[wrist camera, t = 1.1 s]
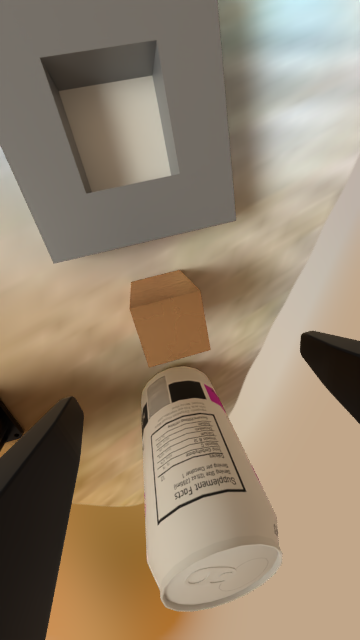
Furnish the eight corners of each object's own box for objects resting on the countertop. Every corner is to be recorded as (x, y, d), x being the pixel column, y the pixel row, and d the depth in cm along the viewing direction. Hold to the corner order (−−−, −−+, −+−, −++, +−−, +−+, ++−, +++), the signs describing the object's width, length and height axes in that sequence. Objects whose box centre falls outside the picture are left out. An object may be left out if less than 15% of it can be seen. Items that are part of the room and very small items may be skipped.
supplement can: (222, 375, 26) (320, 539, 12) (188, 424, 28) (239, 611, 14) (162, 352, 23) (201, 533, 10) (129, 409, 25) (123, 623, 12)
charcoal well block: (219, 221, 19) (236, 220, 16) (67, 256, 18) (53, 263, 15) (192, -7, 13) (210, -78, 10) (-30, 23, 12) (-86, -47, 9)
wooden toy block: (188, 313, 22) (210, 349, 16) (144, 325, 22) (149, 367, 15) (179, 269, 20) (200, 290, 14) (131, 282, 20) (129, 308, 13)
